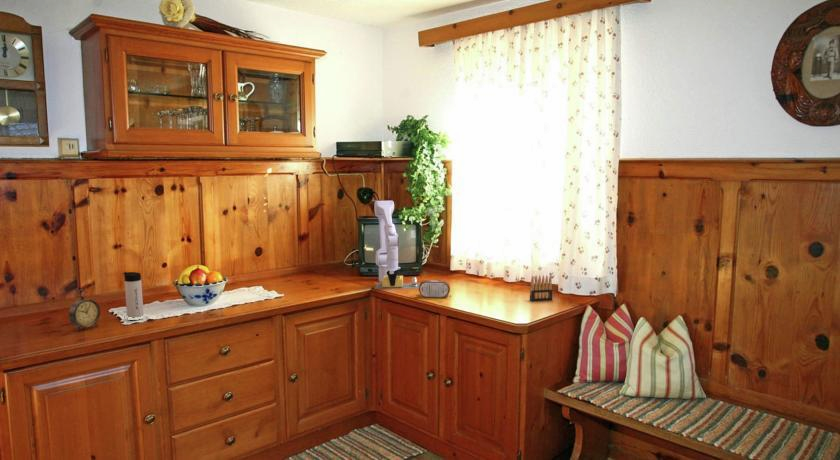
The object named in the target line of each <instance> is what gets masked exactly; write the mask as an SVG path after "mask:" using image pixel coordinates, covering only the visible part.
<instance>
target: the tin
mask: <svg viewBox="0 0 840 460" xmlns="http://www.w3.org/2000/svg"><path fill="white" fill-rule="evenodd" d="M418 292H419V294H420V296H422V297H424V298H426V299H427V298H428V299H429V298H432V299H443V298H446V297H447V296H449V294H450V292H451V287H450V284H449V283H448V282H447V281H446V280H443V279H425V280H422V281H421V282H420V285H419V289H418Z"/></svg>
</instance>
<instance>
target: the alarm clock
mask: <svg viewBox="0 0 840 460" xmlns="http://www.w3.org/2000/svg"><path fill="white" fill-rule="evenodd" d="M81 291H84V295H80V292H81ZM86 294H87V291H86V289H84V288H81V289H79V290H78V292H77V295H78V297H80V299H78V300H76V301H74V302H73V303H72V304H71V305H70V307H69V309H68V319H69V322H70V323H71V324H72V325H73V326H75V327H76V331H78V332H79V330H80V328H81V327H82V328H90V327H92V326H94V325H95V326H96V325H98V323H97V322H98V321H99V319H100V316H101V307H100V305H99V304H98V302H97V301H95V300H93V299H89V298H87V299H86V298H84V297H85V296H86Z"/></svg>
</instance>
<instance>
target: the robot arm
mask: <svg viewBox="0 0 840 460" xmlns="http://www.w3.org/2000/svg"><path fill="white" fill-rule="evenodd" d="M373 208H374V217H377V218H378V225H379V227H378V228H379V243H380V245H379V246H380V248H379V249H377V250H376V251H375V259H374V260H375V265H376V266H378V281H379V283H382V279H383V277H384V276H388V277H389V281H390V286H395V281H396V276H398V274H399V270H400V269H401V267H400V266H399V246H400V237H399V234H398V233H397V229H396V225H395V224H394V223H393V219H392V218H393V217H392V215H393V213H394V211H395V203H394V201H393V200H392V199H391V200H375V201H374V207H373Z"/></svg>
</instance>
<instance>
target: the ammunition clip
mask: <svg viewBox="0 0 840 460" xmlns="http://www.w3.org/2000/svg"><path fill="white" fill-rule="evenodd" d="M543 301H545V302H546V301H553V282H552V275H551V274H550V275H549V276H548V275H544V274H543V275H542V277H541V275H539V276H537V275H535V277H534V275H531V279H530V289H529V302H543Z"/></svg>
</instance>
